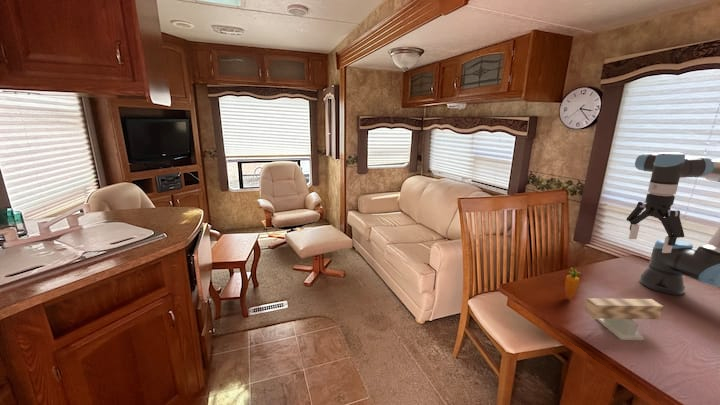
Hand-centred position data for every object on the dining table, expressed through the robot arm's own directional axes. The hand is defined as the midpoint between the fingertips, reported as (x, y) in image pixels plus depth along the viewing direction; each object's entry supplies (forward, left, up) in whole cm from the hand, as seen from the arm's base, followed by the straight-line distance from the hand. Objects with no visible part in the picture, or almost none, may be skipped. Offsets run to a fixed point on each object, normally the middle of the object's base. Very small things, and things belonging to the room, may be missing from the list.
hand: (648, 245), depth 116 cm
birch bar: (+18, +14, -22) cm, 32 cm away
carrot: (+23, -5, -28) cm, 37 cm away
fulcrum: (+17, +14, -28) cm, 36 cm away
